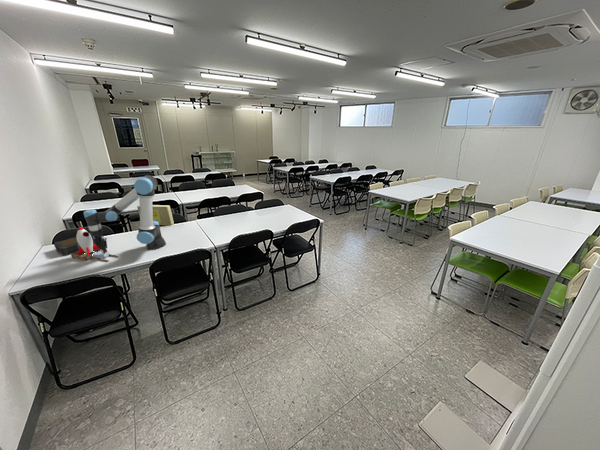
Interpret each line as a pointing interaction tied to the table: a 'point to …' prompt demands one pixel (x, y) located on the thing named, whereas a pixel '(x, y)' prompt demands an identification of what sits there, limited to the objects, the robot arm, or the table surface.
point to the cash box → (68, 246)
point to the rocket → (85, 242)
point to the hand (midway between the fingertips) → (105, 255)
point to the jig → (88, 256)
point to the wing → (99, 255)
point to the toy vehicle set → (161, 214)
